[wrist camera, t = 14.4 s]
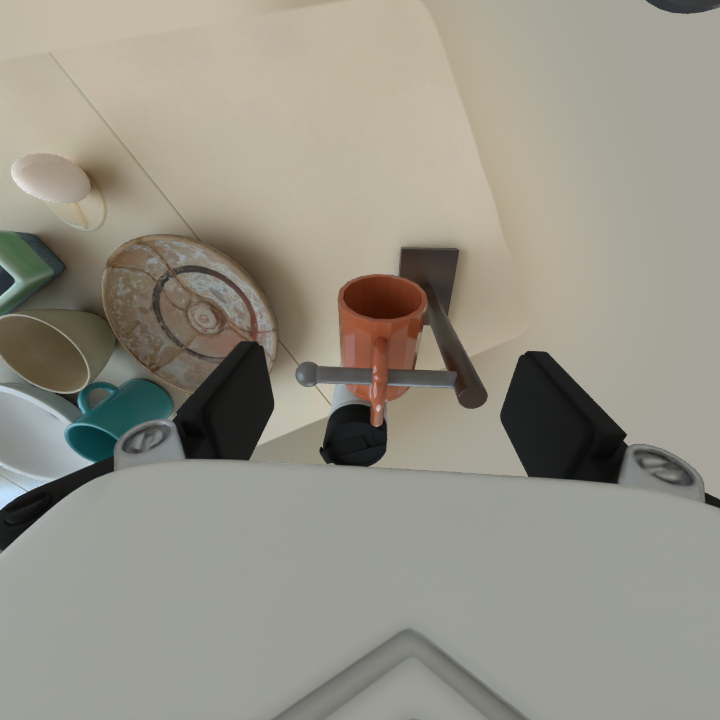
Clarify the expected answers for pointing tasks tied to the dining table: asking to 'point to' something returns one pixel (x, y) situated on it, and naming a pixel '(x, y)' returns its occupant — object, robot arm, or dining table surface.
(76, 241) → the dining table surface
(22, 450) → the white sink basin
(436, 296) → the bent pole stand
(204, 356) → the ceramic bowl
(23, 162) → the egg
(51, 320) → the flower pot
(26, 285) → the planter
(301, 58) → the dining table surface
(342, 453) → the travel mug
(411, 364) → the mug
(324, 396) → the dining table surface
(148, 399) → the cup
